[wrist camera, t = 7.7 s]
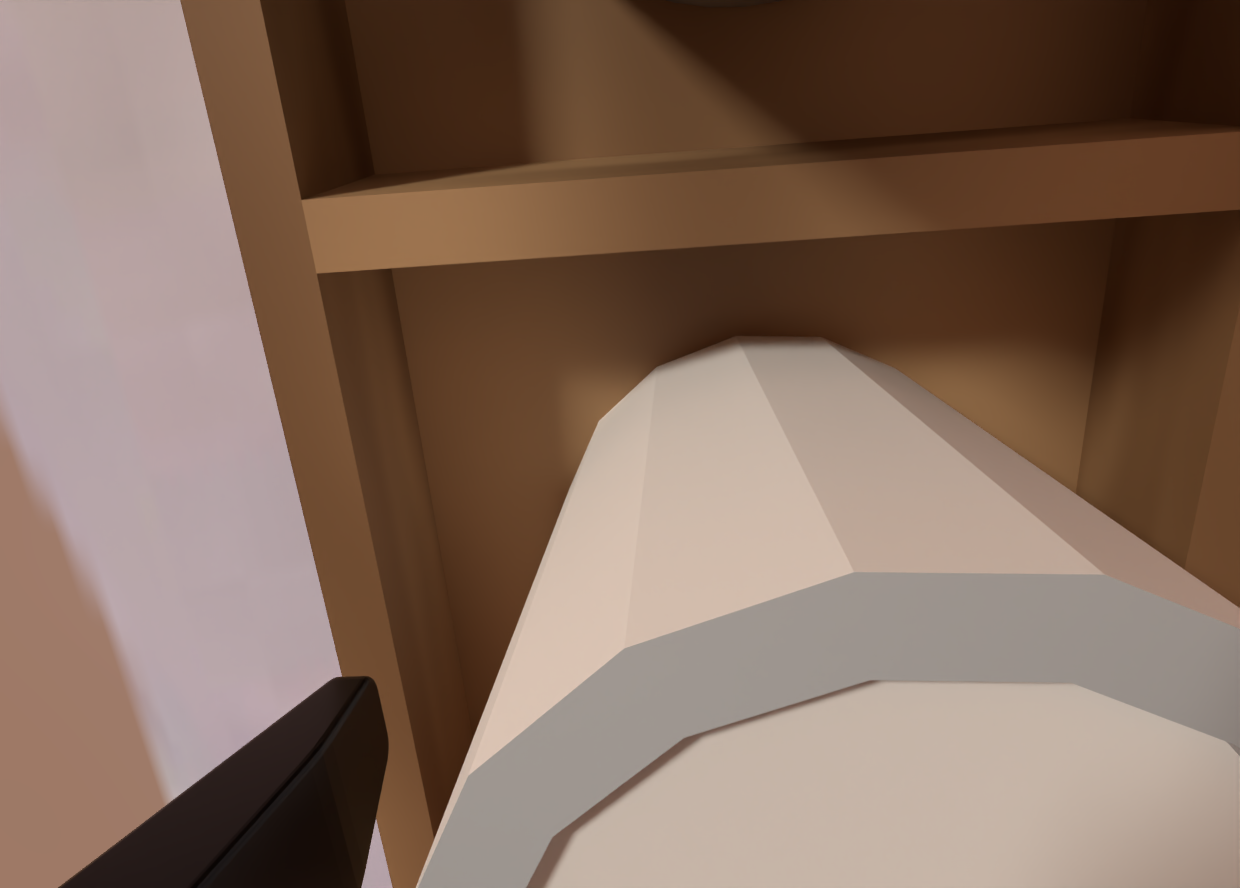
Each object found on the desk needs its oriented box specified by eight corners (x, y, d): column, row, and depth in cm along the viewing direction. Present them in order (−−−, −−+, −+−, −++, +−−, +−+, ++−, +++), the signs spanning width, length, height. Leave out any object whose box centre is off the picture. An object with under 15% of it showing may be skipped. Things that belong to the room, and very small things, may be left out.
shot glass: (1087, 585, 13) (1564, 1115, 6) (686, 781, 14) (729, 1370, 8) (868, 175, 10) (1247, 326, 4) (425, 461, 12) (178, 902, 6)
